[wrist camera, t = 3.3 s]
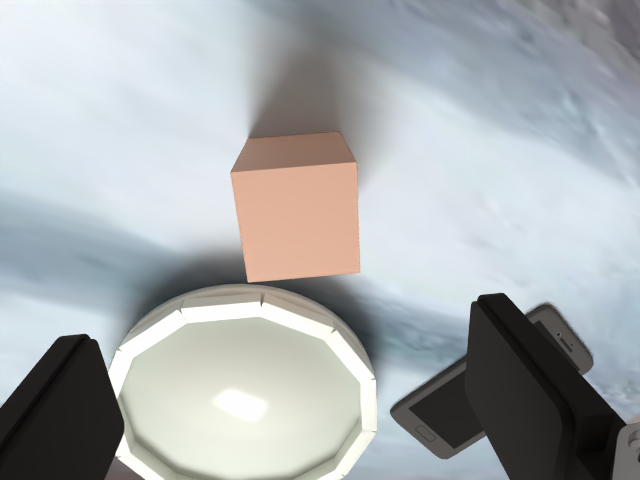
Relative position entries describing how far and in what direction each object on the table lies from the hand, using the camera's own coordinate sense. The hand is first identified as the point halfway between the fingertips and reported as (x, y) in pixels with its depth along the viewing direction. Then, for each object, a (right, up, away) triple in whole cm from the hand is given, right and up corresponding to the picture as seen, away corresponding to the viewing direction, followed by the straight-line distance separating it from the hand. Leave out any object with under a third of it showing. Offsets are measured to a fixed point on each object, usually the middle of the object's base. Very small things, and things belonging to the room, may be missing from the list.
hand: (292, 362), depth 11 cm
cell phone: (+13, -8, +21) cm, 26 cm away
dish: (-4, -8, +20) cm, 21 cm away
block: (-1, +7, +14) cm, 15 cm away
